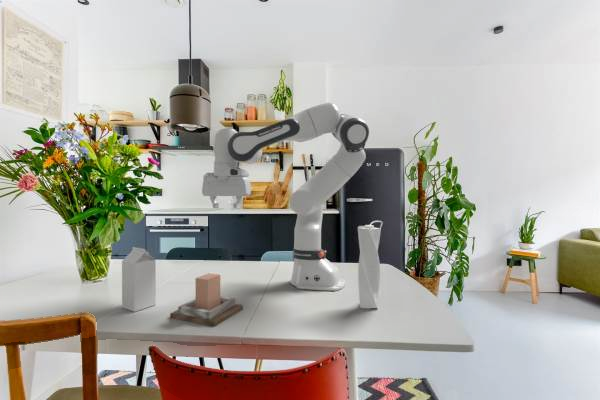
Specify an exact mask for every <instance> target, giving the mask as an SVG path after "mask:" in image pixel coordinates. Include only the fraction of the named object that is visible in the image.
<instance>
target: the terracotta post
mask: <svg viewBox="0 0 600 400" xmlns="http://www.w3.org/2000/svg"><path fill="white" fill-rule="evenodd" d="M220 296H221V274H218V273H217V274H216V273H206V274H203V275H201V276H198V277H195V299H196V308H198V309H204V310H211V309H213V308H215V307H217V306H218V305H220Z"/></svg>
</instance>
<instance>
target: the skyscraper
mask: <svg viewBox="0 0 600 400" xmlns="http://www.w3.org/2000/svg"><path fill="white" fill-rule="evenodd" d="M375 223H381V224H380V227H375V225H372V224H375ZM383 224H384V222H383V221H382V220H379V219H377V220H373V221H371V222H370V224H365V225H359V226H358V227H357V233H358V234H357V235H358V236H357V237H358V245H359V257H358V269H357V280H358V281H357V282H358V283H357V285H358V295H359V296H358V297H359V307H360V309H370V308H377V309H376V310H378V309H379V307H378V305H377V304H378V301H379V300H378V299H379V294H380V293H379V291H380V284H381V265H380V264H381V263H380V262H381V261H380V257H379V252H378V251H379V245H380V239H381V233H382V232H381V231H382V226H383Z"/></svg>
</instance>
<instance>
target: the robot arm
mask: <svg viewBox="0 0 600 400" xmlns="http://www.w3.org/2000/svg"><path fill="white" fill-rule="evenodd" d="M369 129H370V128H369V126H368V124H367V123H366V122H365V121H364V120H363V119H362V118H359V117H357V116H355V115H349V114H343V113H342V114H341V113H340V110H339V108H338V106H337V105H335V104H334V103H332V102H325V103H324V102H323V103H320V104H318V105H317V104H316V105H314V106H311V107H309V108H306V109H304V110H301V111H299V112H298V113H296V114H294V115H292V116H290V117H287V118H286V119H283V120H281V121H279V122H276V123H273V124H270V125H268V126H265V127H263V128H260V129H257V130H254V131H237V130H236V129H234V128H223V129H219V130H218V131H217V132H216V133H215V135H214V142H213V154H214V160H213V172H206V173H205V174H204V175H203V181H202V187H201V194H202V195H203V197H209V200H210V202H211V203H212V208H213V209H218V208H220V207H219V205H220V204H219V203H218V202H217V201H216V200H217V197H235V199H236V201H235V203H233V209H240V204H241V202H242V200H243V197H249V196H250V195H251V194H252V185H251V180H250V171H249V170H245V169H244V168H243V169H242V168H240V167H239V165H238V163H239V162H240V163H244V164H247V165H251V164H255V163H258V162H259V161H260V160H261V158H262V156H263V149H264V148H267V147H269V146H273V145H274V144H277V143H279V142H282V141H294V142H297V143H304V142H308V141H311V140H314V139H316V138H319V137H321V136H323V135H324V134H325V135H326V134H332V136H333V137H334V138H335V139H336V140H337V141H338V142H339V143H340V146H339V149H338V150H337V153H335V154H334V155H333V156H332V157H331V158H330V159H329V160H328V161H327V162H326V163H325V164H324V166H322V167H321V168H320V169H319V170H318V171H317V172H316V173H315V174H314V175H313V176H311V177H310V178H309V179H307V180H306V182H304V183H303V184H302V185H300V186H299V188H297V189H296V190H295V191H294V192H293V193H292V194H291V196H290V199H289V205H290V208H291V210H292V211H293V212H294V213H295V214H296V215H297V217H296V222H295V226H294V230H293V231H294V236H293V237H294V238H293V239H294V240H293V242H294V243H293V244H294V246H293V249H292V251H293V252H292V261H293V267H292V274H291V279H290V280H289V281H290V282H289V283H290V284H291V285H292V286H295V287H296V288H297V289H301V290H314V291H327V292H328V291H333V292H334V291H339V290H342V289H343V288H344V287H345V286H346V280H345V279H342V278H340V277H341V276H340V271H339V269H338V267H337V266H336V265H335V264H333V263H332V262H331V261H330V260H328V259H327V258H326V255H327V254H326V253H327V250H324V249H323V248H322V224H323V215H324V203H325V202H327V201H328V200H329V199H330V198H331V197H332V196H333V195H335V194H336V193H337V192H338V191H339V190H340V189H341V188H342V187H343V186H344V185H345V184H346V183H348V182H349V180H350V179H351V178H352V177H353V176H354V175H355V174H356V173H357V172H358V170H359V169H361V168H360V167H362V165H363V164H364V162H365V161H366V158H367V156H366V154H367V153H366V152H365V150H364V149H365V147H366V143H367V142H368V139H369V135H370V130H369Z"/></svg>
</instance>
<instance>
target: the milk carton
mask: <svg viewBox="0 0 600 400" xmlns="http://www.w3.org/2000/svg"><path fill="white" fill-rule="evenodd" d="M156 271H157V270H156V259H155V258H154V257H153V256H151V255H150V252H148V251H147V250H146V249H145V248H142V247H135V246H133V247H132V250H130V252H129V253H128V254H127V255H126V257H124V258H123V259H122V261H121V303H122V305H121V308H122V309H125V310H128V311H131V312H138V311H142V310H144V309H148V308H150V307H154V306H156V305H157V303H156V302H157V298H156V297H157V293H156V286H157V285H156V284H157V283H156V281H157V280H156V278H157V277H156V273H157V272H156Z"/></svg>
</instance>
